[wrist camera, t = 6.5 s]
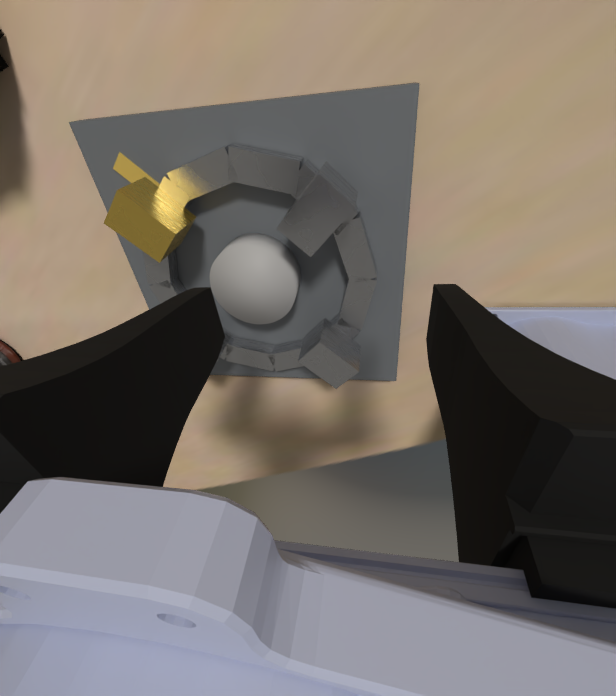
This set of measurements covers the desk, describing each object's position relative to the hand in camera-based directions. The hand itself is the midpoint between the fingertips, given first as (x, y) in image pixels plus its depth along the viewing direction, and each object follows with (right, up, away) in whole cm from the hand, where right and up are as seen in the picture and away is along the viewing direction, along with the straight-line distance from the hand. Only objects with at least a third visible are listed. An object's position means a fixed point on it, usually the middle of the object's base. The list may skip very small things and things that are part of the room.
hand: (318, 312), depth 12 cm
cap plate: (-3, +4, +11) cm, 12 cm away
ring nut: (-3, +3, +10) cm, 11 cm away
